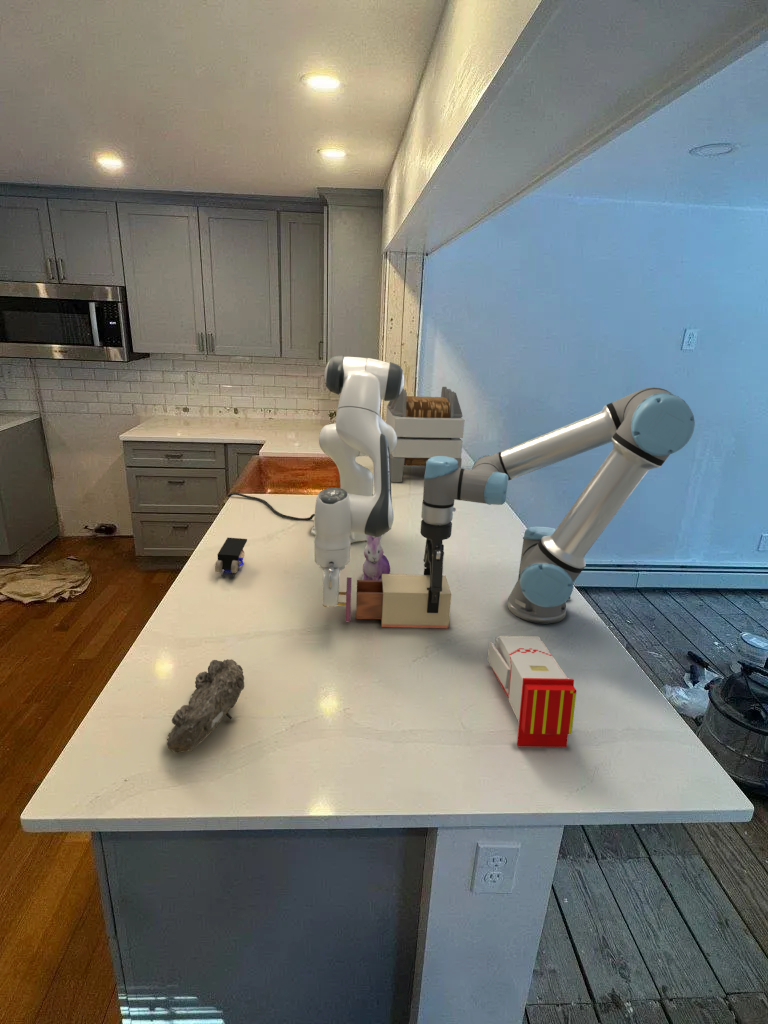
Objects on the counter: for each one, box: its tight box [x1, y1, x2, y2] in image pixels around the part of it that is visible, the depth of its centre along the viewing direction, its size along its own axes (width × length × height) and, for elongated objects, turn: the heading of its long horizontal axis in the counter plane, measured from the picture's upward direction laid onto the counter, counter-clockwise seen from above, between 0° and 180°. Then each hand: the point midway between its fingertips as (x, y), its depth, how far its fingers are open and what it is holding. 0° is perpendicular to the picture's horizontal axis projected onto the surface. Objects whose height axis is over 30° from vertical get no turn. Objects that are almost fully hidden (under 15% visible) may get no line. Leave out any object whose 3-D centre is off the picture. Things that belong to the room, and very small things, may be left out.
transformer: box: [385, 386, 465, 483], centre depth 268 cm, size 34×33×41 cm
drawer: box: [322, 577, 383, 623], centre depth 144 cm, size 21×9×8 cm, turn 92°
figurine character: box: [214, 537, 248, 578], centre depth 166 cm, size 7×8×15 cm
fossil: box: [166, 658, 245, 754], centre depth 106 cm, size 22×10×15 cm
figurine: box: [361, 535, 391, 581], centre depth 162 cm, size 9×10×15 cm
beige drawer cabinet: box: [380, 573, 452, 629], centre depth 145 cm, size 17×10×10 cm, turn 92°
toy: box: [486, 635, 577, 748], centre depth 115 cm, size 12×13×30 cm
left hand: (331, 603), depth 144 cm, fingers closed, pressing on drawer
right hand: (429, 601), depth 145 cm, fingers closed on beige drawer cabinet, 10 cm apart
